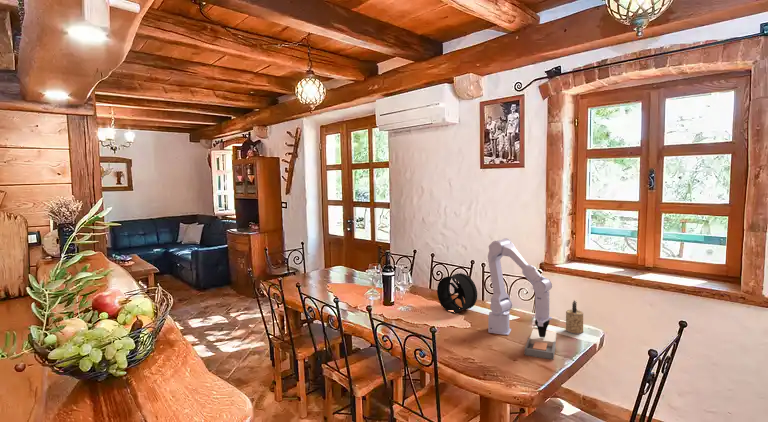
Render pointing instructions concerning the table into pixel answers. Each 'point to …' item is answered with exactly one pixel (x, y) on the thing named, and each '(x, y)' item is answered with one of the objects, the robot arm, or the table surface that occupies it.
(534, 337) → the board
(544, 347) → the tile
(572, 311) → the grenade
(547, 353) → the tray
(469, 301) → the car wheel rim
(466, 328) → the table surface
